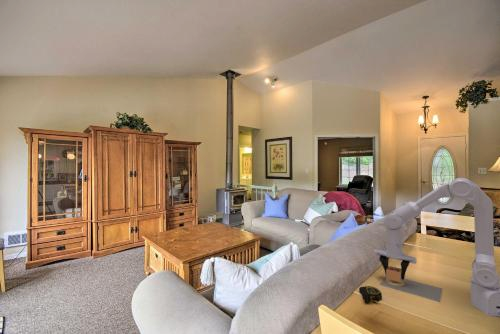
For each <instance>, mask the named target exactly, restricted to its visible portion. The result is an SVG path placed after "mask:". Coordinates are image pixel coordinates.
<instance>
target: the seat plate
mask: <svg viewBox="0 0 500 334" xmlns="http://www.w3.org/2000/svg"><path fill="white" fill-rule="evenodd" d="M379 285H380V286H383V287H385V288H386V287H387V288H389V289H393V290H397V291H399V292H404V293H407V294H410V295H413V296H414V295H415V296H416V297H417V296H418V297H421V298H423V299H424V298H425V299H428V300H431V301H435V302H437V303H441V301H442V294H443V290H444V288H442V287H439V286H436V285H435V286H434V285H431V284H427V283H423V282H419V281H416V280H411V279H408V278H404V280H402V281H401V282H398V283H394V282H392V280H390V279H386V275H385V276H384V278H383V279H382V280H381V282H380V283H379Z"/></svg>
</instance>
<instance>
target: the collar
mask: <svg viewBox="0 0 500 334" xmlns="http://www.w3.org/2000/svg"><path fill="white" fill-rule="evenodd" d="M392 269H396V270H398V272H396V271H392ZM385 276H386V279H390V280H394V281H398V282H401V281H402V279H401V267H400V268H399V267H395V266H392V265H388V268H387V269H386V275H385Z"/></svg>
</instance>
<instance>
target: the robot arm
mask: <svg viewBox="0 0 500 334" xmlns="http://www.w3.org/2000/svg"><path fill="white" fill-rule="evenodd" d="M452 196H454V197H456V198H458V199H461V200H462V201H463V200H464V201H465V202H467V203H468V204H469V205H471V206H472V207H473V215H474V216H473V217H474V219H473V220H474V247H475V248H474V250H475V251H474V260H472V262H471V269H472V274H471V275H472V276H471V277H470V304H471V306H473V307H474V308H476V309H478V310H480V311H482V312H483V313H484V314H485V315H486V316H489V317H499V318H500V275H499V273H498V269H497V265H496V261H495V241H494V240H495V239H494V209H493V208H494V204H493V201H492V199H491V198H490V197H489V196H488V195H487V194H486V193H485V192H484V190H482V189H481V188H480V187H479V186H478V185H477V184H476V183H475V182H474V181H472V180H470V179H468V178H465V177H458V178H454V179H453V180H451V182H450V181H449V182H447V183H446V182H445V183H444V184H441V185H440V186H438V187H436V188H435V189H433V190H432V191H430V192H429V193H427V194H426V195H423V197H421V198H420V199H418V200H416V201H408V202H406V201H405V202H404V203H402V205H401V206H400V207H399V208H397V209H393V210H392V212H391V213H389V214H387V215H386V216H385V218H384V225H385V228H386V230H385V236H386V237H385V245H386V248H385V249H386V250H384V249H383V250H382V249H374V252H373V253H374V256H379V262H380V263H381V265H382V267H383V270H384V274H385V276H386V269H387V268H388V267H389V260H390V259H394V260H397V261H401V262H400V268H401V279H402V280H404V279H405V277H406V272H407V270H408V268H409V265H410V264H413V265H416V264H417V257H415V256H411V255H408V254H404V250H403V247H404V246H403V245H404V244H403V240H404V239H403V227H402V226H403V225H404V224H406V223H408V222H410V221H412V220H413V219H416V218H417V217H418V216H420V215H421V214H422V209H424V208H425V207H427V206H429V205H431V204H433V203H435V202H436V201H437V202H438V200H440V199H443V198H444V199H445V198H447V199H449V198H452Z"/></svg>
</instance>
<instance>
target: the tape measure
mask: <svg viewBox="0 0 500 334" xmlns="http://www.w3.org/2000/svg"><path fill="white" fill-rule="evenodd" d="M358 292H359V293H360V295H361V297H362V299H363V301H364V302H365V303H372V304H373V303H374V304H377V303H378V302H380V301H382V299H383V294H382V293H383V292H382V291H381V290H380V289H379V288H378V287H376V286H371V285H366V286H361V287H359V288H358Z"/></svg>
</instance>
